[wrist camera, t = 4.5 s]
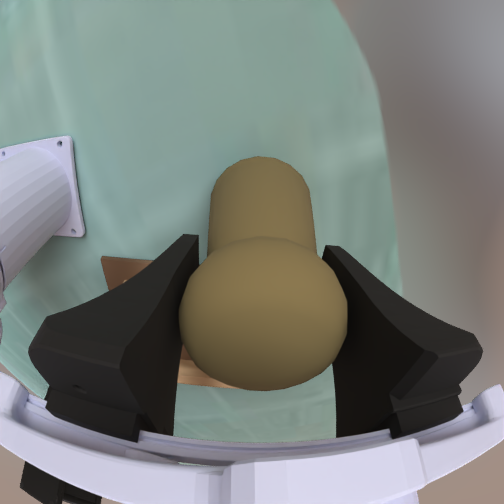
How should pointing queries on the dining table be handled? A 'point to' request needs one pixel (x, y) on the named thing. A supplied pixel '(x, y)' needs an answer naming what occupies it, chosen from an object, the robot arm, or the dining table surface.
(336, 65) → the dining table surface
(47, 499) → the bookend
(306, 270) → the cork
